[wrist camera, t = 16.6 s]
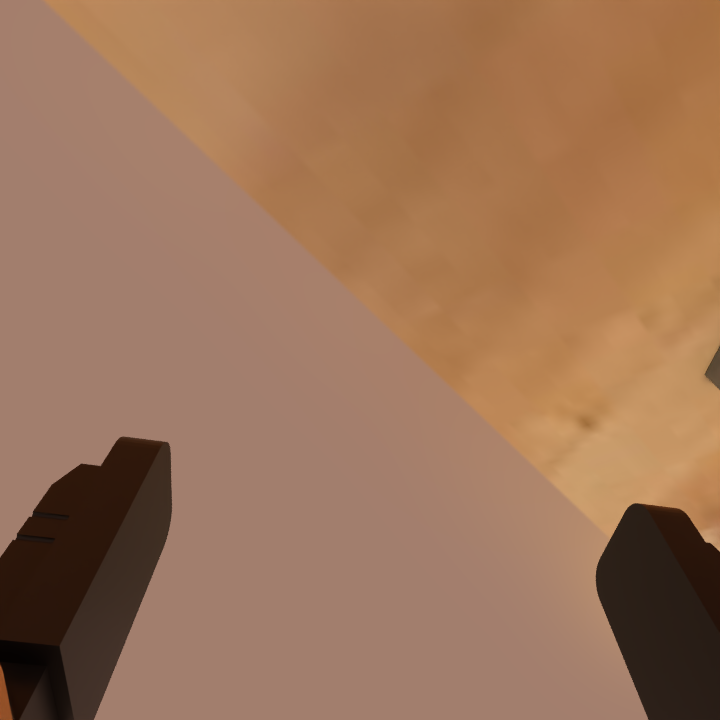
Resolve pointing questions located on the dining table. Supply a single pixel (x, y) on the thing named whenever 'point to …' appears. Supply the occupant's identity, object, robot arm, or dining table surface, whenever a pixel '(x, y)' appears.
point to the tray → (714, 370)
